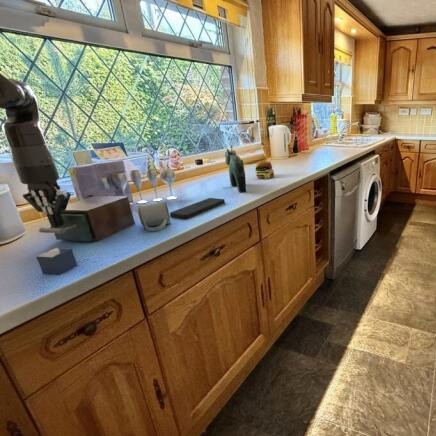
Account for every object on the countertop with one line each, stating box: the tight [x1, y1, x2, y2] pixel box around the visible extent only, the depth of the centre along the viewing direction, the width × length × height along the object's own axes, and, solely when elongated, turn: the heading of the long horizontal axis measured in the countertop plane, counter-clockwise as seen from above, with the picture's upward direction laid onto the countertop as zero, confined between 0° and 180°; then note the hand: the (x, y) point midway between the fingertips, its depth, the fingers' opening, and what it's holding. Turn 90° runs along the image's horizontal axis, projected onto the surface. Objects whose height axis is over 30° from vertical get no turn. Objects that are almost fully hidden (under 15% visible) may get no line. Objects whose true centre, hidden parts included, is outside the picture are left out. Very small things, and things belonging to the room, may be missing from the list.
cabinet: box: [61, 196, 136, 243], centre depth 94 cm, size 15×13×10 cm
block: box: [35, 247, 78, 276], centre depth 72 cm, size 5×5×5 cm
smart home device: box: [169, 197, 226, 220], centre depth 114 cm, size 8×2×20 cm
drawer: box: [38, 212, 93, 242], centre depth 90 cm, size 18×11×8 cm, turn 170°
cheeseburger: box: [255, 160, 275, 180], centre depth 164 cm, size 10×11×10 cm
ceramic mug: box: [137, 200, 172, 232], centre depth 97 cm, size 11×8×8 cm
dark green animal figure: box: [224, 144, 247, 193], centre depth 141 cm, size 20×6×20 cm, turn 28°
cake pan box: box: [67, 159, 134, 203], centre depth 118 cm, size 19×5×18 cm, turn 157°
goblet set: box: [101, 168, 179, 206], centre depth 124 cm, size 28×6×13 cm, turn 119°
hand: (58, 226), depth 83 cm, fingers closed
